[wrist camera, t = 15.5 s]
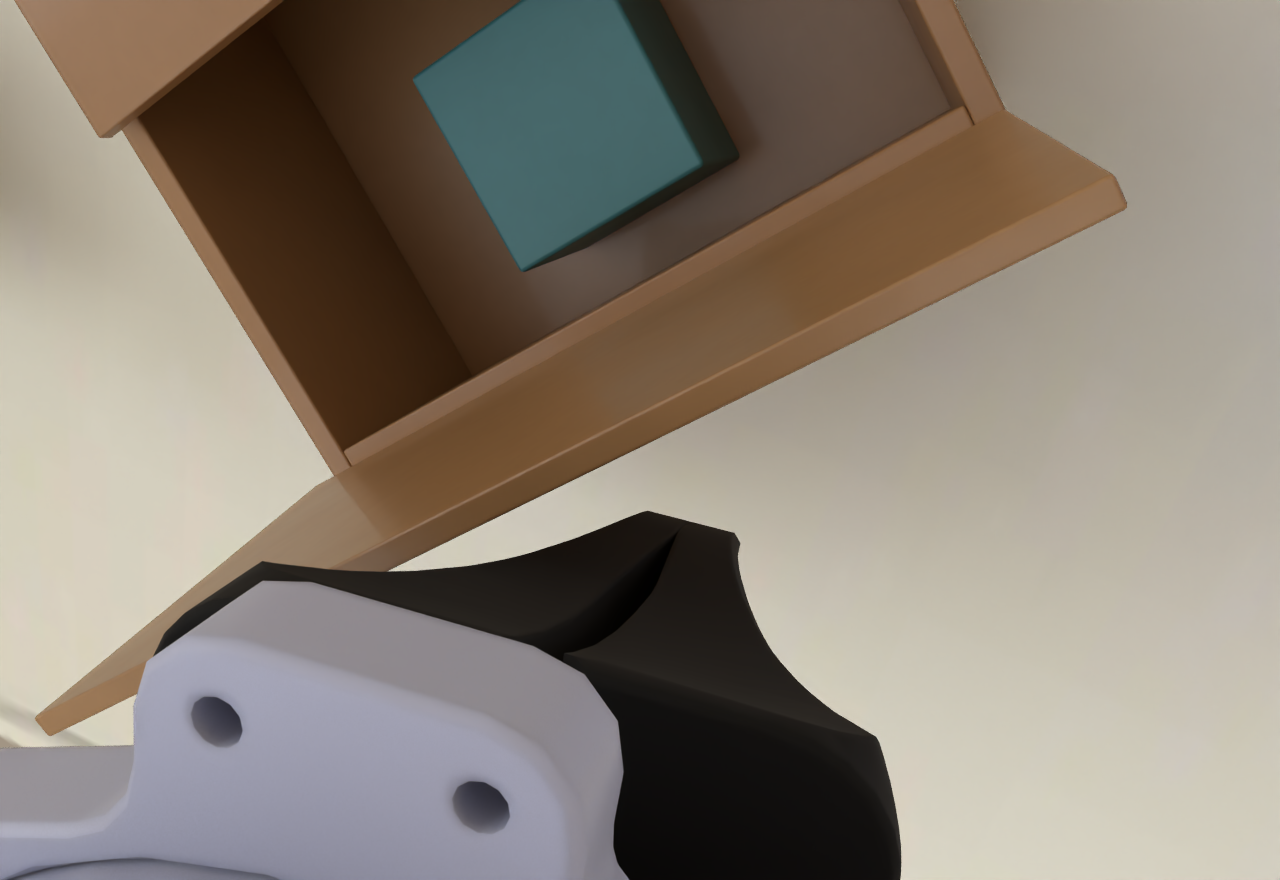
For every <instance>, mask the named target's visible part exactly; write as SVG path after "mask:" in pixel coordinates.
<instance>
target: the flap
mask: <svg viewBox="0 0 1280 880" xmlns="http://www.w3.org/2000/svg"><path fill="white" fill-rule="evenodd" d="M1126 208H1127V202H1126V200H1125V198H1124V195H1123V193H1122V191H1121V189H1120V187H1119V184H1118V182H1117V180H1116V178H1115V176H1114V175H1113V174H1111V173H1109V172H1108V171H1106V170H1104V169H1103V168H1101V167H1099V166H1098V165H1096V164H1094V163H1093V162H1091V161H1089V160H1088V159H1086V158H1084V157H1083V156H1081V155H1079V154H1078V153H1076V152H1074V151H1073V150H1071V149H1069V148H1068V147H1066V146H1064V145H1063V144H1061V143H1059V142H1058V141H1056V140H1055V139H1053V138H1051V137H1050V136H1048V135H1046V134H1045V133H1043V132H1041V131H1040V130H1038V129H1036V128H1035V127H1033V126H1031V125H1030V124H1028V123H1026V122H1025V121H1023V120H1021V119H1020V118H1018V117H1016V116H1015V115H1013V114H1011V113H1010V112H1008V111H1006V110H1001V111H1000V112H998V113H996V114H994V115H992V116H990V117H989V118H987V119H985V120H983V121H981V122H980V123H978V124H976V125H974V126H972V127H970V128H969V129H967V130H965V131H963V132H961V133H959V134H958V135H956V136H954V137H952V138H950V139H948V140H947V141H945V142H943V143H941V144H939V145H938V146H936V147H934V148H932V149H930V150H928V151H927V152H925V153H923V154H921V155H919V156H917V157H916V158H914V159H912V160H910V161H908V162H907V163H905V164H903V165H901V166H899V167H897V168H896V169H894V170H892V171H890V172H888V173H886V174H885V175H883V176H881V177H879V178H877V179H875V180H874V181H872V182H870V183H868V184H866V185H865V186H863V187H861V188H859V189H857V190H855V191H854V192H852V193H850V194H848V195H846V196H844V197H843V198H841V199H839V200H837V201H835V202H834V203H832V204H830V205H828V206H826V207H824V208H823V209H821V210H819V211H817V212H815V213H813V214H812V215H810V216H808V217H806V218H804V219H802V220H801V221H799V222H797V223H795V224H793V225H792V226H790V227H788V228H786V229H784V230H782V231H781V232H779V233H777V234H775V235H773V236H771V237H770V238H768V239H766V240H764V241H762V242H761V243H759V244H757V245H755V246H753V247H751V248H750V249H748V250H746V251H744V252H742V253H740V254H739V255H737V256H735V257H733V258H731V259H729V260H728V261H726V262H724V263H722V264H720V265H719V266H717V267H715V268H713V269H711V270H709V271H708V272H706V273H704V274H702V275H700V276H698V277H697V278H695V279H693V280H691V281H689V282H688V283H686V284H684V285H682V286H680V287H678V288H677V289H675V290H673V291H671V292H669V293H667V294H666V295H664V296H662V297H660V298H658V299H657V300H655V301H653V302H651V303H649V304H647V305H646V306H644V307H642V308H640V309H638V310H636V311H635V312H633V313H631V314H629V315H627V316H625V317H624V318H622V319H620V320H618V321H616V322H615V323H613V324H611V325H609V326H607V327H605V328H604V329H602V330H600V331H598V332H596V333H594V334H593V335H591V336H589V337H587V338H585V339H584V340H582V341H580V342H578V343H576V344H574V345H573V346H571V347H569V348H567V349H565V350H563V351H562V352H560V353H558V354H556V355H554V356H552V357H551V358H549V359H547V360H545V361H543V362H542V363H540V364H538V365H536V366H534V367H532V368H531V369H529V370H527V371H525V372H523V373H521V374H520V375H518V376H516V377H514V378H512V379H511V380H509V381H507V382H505V383H503V384H501V385H500V386H498V387H496V388H494V389H492V390H490V391H489V392H487V393H485V394H483V395H481V396H479V397H478V398H476V399H474V400H472V401H470V402H469V403H467V404H465V405H463V406H461V407H459V408H458V409H456V410H454V411H452V412H450V413H448V414H447V415H445V416H443V417H441V418H439V419H438V420H436V421H434V422H432V423H430V424H428V425H427V426H425V427H423V428H421V429H419V430H417V431H416V432H414V433H412V434H410V435H408V436H406V437H405V438H403V439H401V440H399V441H397V442H396V443H394V444H392V445H390V446H388V447H386V448H385V449H383V450H381V451H379V452H377V453H375V454H374V455H372V456H370V457H368V458H366V459H365V460H363V461H361V462H359V463H357V464H355V465H354V466H352V467H350V468H348V469H346V470H344V471H343V472H341V473H339V474H337V475H335V476H333V477H332V478H330V479H328V480H326V481H324V482H323V483H321V484H319V485H317V486H316V487H314V488H313V489H312V490H311V491H309V492H308V493H307V494H306V495H305V496H303V497H302V498H301V499H300V500H299V501H297V502H296V503H295V504H294V505H292V506H291V507H290V508H289V509H288V510H286V511H285V512H284V513H283V514H282V515H280V516H279V517H278V518H277V519H275V520H274V521H273V522H272V523H271V524H269V525H268V526H267V527H266V528H264V529H263V530H262V531H261V532H260V533H258V534H257V535H256V536H255V537H254V538H252V539H251V540H250V541H249V542H247V543H246V544H245V545H244V546H243V547H241V548H240V549H239V550H238V551H236V552H235V553H234V554H233V555H232V556H230V557H229V558H228V559H227V560H226V561H224V562H223V563H222V564H221V565H219V566H218V567H217V568H216V569H215V570H213V571H212V572H211V573H210V574H209V575H207V576H206V577H205V578H204V579H202V580H201V581H200V582H199V583H198V584H196V585H195V586H194V587H193V588H191V589H190V590H189V591H188V592H187V593H185V594H184V595H183V596H182V597H181V598H179V599H178V600H177V601H176V602H174V603H173V604H172V605H171V606H170V607H168V608H167V609H166V610H165V611H163V612H162V613H161V614H160V615H159V616H157V617H156V618H155V619H154V620H153V621H151V622H150V623H149V624H148V625H146V626H145V627H144V628H143V629H142V630H140V631H139V632H138V633H137V634H136V635H134V636H133V637H132V638H131V639H129V640H128V641H127V642H126V643H125V644H123V645H122V646H121V647H120V648H118V649H117V650H116V651H115V652H114V653H112V654H111V655H110V656H109V657H108V658H106V659H105V660H104V661H103V662H101V663H100V664H99V665H98V666H97V667H95V668H94V669H93V670H92V671H91V672H89V673H88V674H87V675H86V676H84V677H83V678H82V679H81V680H80V681H78V682H77V683H76V684H75V685H73V686H72V687H71V688H70V689H69V690H67V691H66V692H65V693H64V694H63V695H61V696H60V697H59V698H58V699H56V700H55V701H54V702H53V703H52V704H50V705H49V706H48V707H47V708H45V709H44V710H43V711H42V712H41V713H39V714H38V715H37V716H36V718H35V720H36V721H37V723H38V724H39V725H40V726H41V727H42V729H43V730H44V731H45V732H46V733H47V735H49V736H52V735H54V734H56V733H58V732H60V731H62V730H64V729H66V728H68V727H70V726H72V725H74V724H76V723H78V722H81V721H83V720H85V719H87V718H89V717H91V716H93V715H95V714H97V713H99V712H101V711H103V710H105V709H107V708H109V707H111V706H113V705H115V704H117V703H119V702H121V701H123V700H125V699H127V698H129V697H132V696H134V695H136V694H137V693H138V689H139V686H140V683H141V679H142V676H143V672H144V669H145V666H146V662H147V661H148V660H149V659H151V658H152V657H153V655H154V653H155V651H156V649H157V647H158V645H159V643H160V641H161V639H162V637H163V635H164V633H165V632H166V631H167V630H168V629H169V628H170V627H171V626H172V625H173V624H174V623H175V622H176V621H177V620H178V619H179V618H180V617H181V616H182V615H183V614H184V613H185V612H187V611H188V610H190V609H191V608H193V607H194V606H196V605H197V604H199V603H200V602H201V601H203V600H204V599H206V598H207V597H209V596H210V595H212V594H213V593H215V592H216V591H218V590H219V589H221V588H222V587H224V586H225V585H227V584H228V583H230V582H231V581H233V580H234V579H236V578H237V577H239V576H240V575H242V574H243V573H245V572H246V571H248V570H249V569H251V568H252V567H254V566H255V565H257V564H258V563H260V562H261V561H265V562H272V563H279V564H287V565H296V566H305V567H314V568H323V569H332V570H347V571H376V572H387V571H389V570H391V569H393V568H395V567H397V566H399V565H401V564H403V563H405V562H407V561H409V560H411V559H413V558H415V557H417V556H419V555H421V554H423V553H425V552H427V551H430V550H432V549H434V548H436V547H438V546H440V545H442V544H444V543H446V542H448V541H450V540H452V539H454V538H456V537H458V536H460V535H462V534H464V533H466V532H468V531H470V530H472V529H474V528H476V527H479V526H481V525H483V524H485V523H487V522H489V521H491V520H493V519H495V518H497V517H499V516H501V515H503V514H505V513H507V512H509V511H511V510H513V509H515V508H517V507H519V506H521V505H523V504H525V503H527V502H530V501H532V500H534V499H536V498H538V497H540V496H542V495H544V494H546V493H548V492H550V491H552V490H554V489H556V488H558V487H560V486H562V485H564V484H566V483H568V482H570V481H572V480H574V479H576V478H579V477H581V476H583V475H585V474H587V473H589V472H591V471H593V470H595V469H597V468H599V467H601V466H603V465H605V464H607V463H609V462H611V461H613V460H615V459H617V458H619V457H621V456H623V455H625V454H627V453H630V452H632V451H634V450H636V449H638V448H640V447H642V446H644V445H646V444H648V443H650V442H652V441H654V440H656V439H658V438H660V437H662V436H664V435H666V434H668V433H670V432H672V431H674V430H676V429H679V428H681V427H683V426H685V425H687V424H689V423H691V422H693V421H695V420H697V419H699V418H701V417H703V416H705V415H707V414H709V413H711V412H713V411H715V410H717V409H719V408H721V407H723V406H725V405H728V404H730V403H732V402H734V401H736V400H738V399H740V398H742V397H744V396H746V395H748V394H750V393H752V392H754V391H756V390H758V389H760V388H762V387H764V386H766V385H768V384H770V383H772V382H774V381H776V380H779V379H781V378H783V377H785V376H787V375H789V374H791V373H793V372H795V371H797V370H799V369H801V368H803V367H805V366H807V365H809V364H811V363H813V362H815V361H817V360H819V359H821V358H823V357H825V356H828V355H830V354H832V353H834V352H836V351H838V350H840V349H842V348H844V347H846V346H848V345H850V344H852V343H854V342H856V341H858V340H860V339H862V338H864V337H866V336H868V335H870V334H872V333H874V332H876V331H879V330H881V329H883V328H885V327H887V326H889V325H891V324H893V323H895V322H897V321H899V320H901V319H903V318H905V317H907V316H909V315H911V314H913V313H915V312H917V311H919V310H921V309H923V308H925V307H928V306H930V305H932V304H934V303H936V302H938V301H940V300H942V299H944V298H946V297H948V296H950V295H952V294H954V293H956V292H958V291H960V290H962V289H964V288H966V287H968V286H970V285H972V284H974V283H977V282H979V281H981V280H983V279H985V278H987V277H989V276H991V275H993V274H995V273H997V272H999V271H1001V270H1003V269H1005V268H1007V267H1009V266H1011V265H1013V264H1015V263H1017V262H1019V261H1021V260H1023V259H1025V258H1028V257H1030V256H1032V255H1034V254H1036V253H1038V252H1040V251H1042V250H1044V249H1046V248H1048V247H1050V246H1052V245H1054V244H1056V243H1058V242H1060V241H1062V240H1064V239H1066V238H1068V237H1070V236H1072V235H1074V234H1077V233H1079V232H1081V231H1083V230H1085V229H1087V228H1089V227H1091V226H1093V225H1095V224H1097V223H1099V222H1101V221H1103V220H1105V219H1107V218H1109V217H1111V216H1113V215H1115V214H1117V213H1119V212H1121V211H1123V210H1125V209H1126Z"/></svg>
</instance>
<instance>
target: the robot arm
mask: <svg viewBox="0 0 1280 880" xmlns="http://www.w3.org/2000/svg"><path fill="white" fill-rule="evenodd" d="M739 547H740V542H739V540H738V538H737V537H736V535H735V533H732V532H728V531H725V530H721V529H717V528H713V527H709V526H705V525H701V524H697V523H693V522H689V521H685V520H682V519H678V518H674V517H670V516H666V515H662V514H658V513H654V512H650V511H645V512H641V513H638V514H636V515H633V516H630V517H628V518H625V519H623V520H620V521H618V522H616V523H613V524H611V525H608V526H606V527H603V528H601V529H598V530H596V531H593V532H591V533H588V534H585V535H583V536H580V537H578V538H575V539H572V540H569V541H566V542H563V543H560V544H557V545H554V546H550V547H547V548H544V549H541V550H538V551H535V552H532V553H529V554H525V555H521V556H517V557H513V558H509V559H504V560H499V561H494V562H488V563H483V564H478V565H471V566H464V567H453V568H442V569H431V570H420V571H391V572H376V571H347V570H332V569H323V568H314V567H305V566H296V565H287V564H279V563H272V562H265V561H261V562H260V563H258V564H257V565H255V566H254V567H252V568H251V569H249V570H248V571H246V572H245V573H243V574H242V575H240V576H239V577H237V578H236V579H234V580H233V581H231V582H230V583H228V584H227V585H225V586H224V587H222V588H221V589H219V590H218V591H216V592H215V593H213V594H212V595H210V596H209V597H207V598H206V599H204V600H203V601H201V602H200V603H199V604H197V605H196V606H194V607H193V608H191V609H190V610H188V611H187V612H185V613H184V614H183V615H182V616H181V617H180V618H179V619H178V620H177V621H176V622H175V623H174V624H173V625H172V626H171V627H170V628H169V629H168V630H167V631H166V632H165V633H164V635H163V637H162V639H161V641H160V643H159V645H158V647H157V649H156V651H155V653H154V655H153V657H152V658H151V659H149V660H148V661H147V662H146V666H145V669H144V672H143V676H142V679H141V683H140V686H139V689H138V693H137V696H136V700H135V703H134V745H123V746H69V747H15V748H0V880H900V876H901V843H900V834H899V825H898V819H897V813H896V807H895V802H894V797H893V792H892V788H891V783H890V779H889V775H888V771H887V768H886V764H885V760H884V756H883V753H882V750H881V746H880V744H879V741H878V739H877V738H876V737H875V736H874V735H872V734H870V733H869V732H867V731H865V730H864V729H862V728H860V727H859V726H857V725H855V724H854V723H852V722H850V721H849V720H847V719H845V718H844V717H842V716H840V715H839V714H837V713H835V712H834V711H833V710H831V709H830V708H829V707H827V706H826V705H825V704H824V703H822V702H821V701H820V700H819V699H817V698H816V697H815V696H814V695H812V694H811V693H810V692H809V691H808V690H807V689H806V688H804V687H803V686H802V685H801V684H800V683H799V682H798V681H797V680H796V679H795V678H794V677H793V676H792V674H791V673H790V672H789V671H788V670H787V669H786V668H785V667H784V665H783V664H782V663H781V662H780V661H779V660H778V658H777V657H776V656H775V654H774V653H773V652H772V650H771V649H770V647H769V646H768V644H767V642H766V640H765V639H764V637H763V635H762V633H761V631H760V629H759V627H758V625H757V623H756V620H755V618H754V616H753V613H752V611H751V608H750V606H749V603H748V600H747V597H746V594H745V590H744V587H743V583H742V580H741V576H740V571H739V564H738V552H739Z"/></svg>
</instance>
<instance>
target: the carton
mask: <svg viewBox="0 0 1280 880" xmlns="http://www.w3.org/2000/svg"><path fill="white" fill-rule="evenodd" d="M14 1H15V2H16V4H17V5H18V7H19V9H20V10H21V12H22V14H23V15H24V17H25V18H26V20H27V22H28V23H29V25H30V26H31V28H32V30H33V31H34V33H35V35H36V36H37V38H38V39H39V41H40V43H41V44H42V46H43V48H44V49H45V51H46V52H47V54H48V56H49V57H50V59H51V60H52V62H53V64H54V65H55V67H56V69H57V70H58V72H59V73H60V75H61V77H62V78H63V80H64V82H65V83H66V85H67V86H68V88H69V90H70V91H71V93H72V95H73V96H74V98H75V99H76V101H77V103H78V104H79V106H80V107H81V109H82V111H83V112H84V114H85V116H86V117H87V119H88V120H89V122H90V124H91V125H92V127H93V129H94V130H95V132H96V133H97V135H98V137H100V138H112V137H113V136H114V135H115V134H117V133H118V132H119V131H120V130H122V131H123V133H124V134H125V136H126V137H127V139H128V141H129V142H130V144H131V146H132V147H133V149H134V151H135V152H136V154H137V155H138V157H139V159H140V160H141V162H142V164H143V165H144V167H145V168H146V170H147V172H148V173H149V175H150V177H151V178H152V180H153V181H154V183H155V185H156V186H157V188H158V190H159V191H160V193H161V195H162V196H163V198H164V199H165V201H166V203H167V204H168V206H169V208H170V209H171V211H172V212H173V214H174V216H175V217H176V219H177V221H178V222H179V224H180V226H181V227H182V229H183V230H184V232H185V234H186V235H187V237H188V239H189V240H190V242H191V243H192V245H193V247H194V248H195V250H196V252H197V253H198V255H199V257H200V258H201V260H202V261H203V263H204V265H205V266H206V268H207V270H208V271H209V273H210V274H211V276H212V278H213V279H214V281H215V283H216V284H217V286H218V287H219V289H220V291H221V292H222V294H223V296H224V297H225V299H226V301H227V302H228V304H229V305H230V307H231V309H232V310H233V312H234V314H235V315H236V317H237V318H238V320H239V322H240V323H241V325H242V327H243V328H244V330H245V332H246V333H247V335H248V336H249V338H250V340H251V341H252V343H253V345H254V346H255V348H256V349H257V351H258V353H259V354H260V356H261V358H262V359H263V361H264V362H265V364H266V366H267V367H268V369H269V371H270V372H271V374H272V376H273V377H274V379H275V380H276V382H277V384H278V385H279V387H280V389H281V390H282V392H283V393H284V395H285V397H286V398H287V400H288V402H289V403H290V405H291V407H292V408H293V410H294V411H295V413H296V415H297V416H298V418H299V420H300V421H301V423H302V424H303V426H304V428H305V429H306V431H307V433H308V434H309V436H310V437H311V439H312V441H313V442H314V444H315V446H316V447H317V449H318V451H319V452H320V454H321V455H322V457H323V459H324V460H325V462H326V464H327V465H328V467H329V468H330V470H331V472H332V473H333V475H334V476H335V475H337V474H339V473H341V472H343V471H344V470H346V469H348V468H350V467H352V466H354V465H355V464H357V463H359V462H361V461H363V460H365V459H366V458H368V457H370V456H372V455H374V454H375V453H377V452H379V451H381V450H383V449H385V448H386V447H388V446H390V445H392V444H394V443H396V442H397V441H399V440H401V439H403V438H405V437H406V436H408V435H410V434H412V433H414V432H416V431H417V430H419V429H421V428H423V427H425V426H427V425H428V424H430V423H432V422H434V421H436V420H438V419H439V418H441V417H443V416H445V415H447V414H448V413H450V412H452V411H454V410H456V409H458V408H459V407H461V406H463V405H465V404H467V403H469V402H470V401H472V400H474V399H476V398H478V397H479V396H481V395H483V394H485V393H487V392H489V391H490V390H492V389H494V388H496V387H498V386H500V385H501V384H503V383H505V382H507V381H509V380H511V379H512V378H514V377H516V376H518V375H520V374H521V373H523V372H525V371H527V370H529V369H531V368H532V367H534V366H536V365H538V364H540V363H542V362H543V361H545V360H547V359H549V358H551V357H552V356H554V355H556V354H558V353H560V352H562V351H563V350H565V349H567V348H569V347H571V346H573V345H574V344H576V343H578V342H580V341H582V340H584V339H585V338H587V337H589V336H591V335H593V334H594V333H596V332H598V331H600V330H602V329H604V328H605V327H607V326H609V325H611V324H613V323H615V322H616V321H618V320H620V319H622V318H624V317H625V316H627V315H629V314H631V313H633V312H635V311H636V310H638V309H640V308H642V307H644V306H646V305H647V304H649V303H651V302H653V301H655V300H657V299H658V298H660V297H662V296H664V295H666V294H667V293H669V292H671V291H673V290H675V289H677V288H678V287H680V286H682V285H684V284H686V283H688V282H689V281H691V280H693V279H695V278H697V277H698V276H700V275H702V274H704V273H706V272H708V271H709V270H711V269H713V268H715V267H717V266H719V265H720V264H722V263H724V262H726V261H728V260H729V259H731V258H733V257H735V256H737V255H739V254H740V253H742V252H744V251H746V250H748V249H750V248H751V247H753V246H755V245H757V244H759V243H761V242H762V241H764V240H766V239H768V238H770V237H771V236H773V235H775V234H777V233H779V232H781V231H782V230H784V229H786V228H788V227H790V226H792V225H793V224H795V223H797V222H799V221H801V220H802V219H804V218H806V217H808V216H810V215H812V214H813V213H815V212H817V211H819V210H821V209H823V208H824V207H826V206H828V205H830V204H832V203H834V202H835V201H837V200H839V199H841V198H843V197H844V196H846V195H848V194H850V193H852V192H854V191H855V190H857V189H859V188H861V187H863V186H865V185H866V184H868V183H870V182H872V181H874V180H875V179H877V178H879V177H881V176H883V175H885V174H886V173H888V172H890V171H892V170H894V169H896V168H897V167H899V166H901V165H903V164H905V163H907V162H908V161H910V160H912V159H914V158H916V157H917V156H919V155H921V154H923V153H925V152H927V151H928V150H930V149H932V148H934V147H936V146H938V145H939V144H941V143H943V142H945V141H947V140H948V139H950V138H952V137H954V136H956V135H958V134H959V133H961V132H963V131H965V130H967V129H969V128H970V127H972V126H974V125H976V124H978V123H980V122H981V121H983V120H985V119H987V118H989V117H990V116H992V115H994V114H996V113H998V112H1000V111H1001V110H1006V109H1005V107H1004V105H1003V103H1002V101H1001V99H1000V97H999V95H998V93H997V90H996V88H995V86H994V84H993V82H992V80H991V78H990V76H989V74H988V72H987V70H986V67H985V65H984V63H983V61H982V59H981V57H980V55H979V53H978V51H977V49H976V47H975V45H974V42H973V40H972V38H971V36H970V34H969V32H968V30H967V28H966V26H965V24H964V22H963V19H962V17H961V15H960V13H959V11H958V9H957V7H956V5H955V3H954V1H953V0H659V1H660V3H661V4H662V6H663V8H664V10H665V12H666V14H667V16H668V18H669V20H670V22H671V24H672V26H673V27H674V29H675V31H676V33H677V35H678V37H679V39H680V41H681V43H682V45H683V47H684V49H685V51H686V52H687V54H688V56H689V58H690V60H691V62H692V64H693V66H694V68H695V70H696V72H697V74H698V75H699V77H700V79H701V81H702V83H703V85H704V87H705V89H706V91H707V93H708V95H709V97H710V98H711V100H712V102H713V104H714V106H715V108H716V110H717V112H718V114H719V116H720V118H721V120H722V121H723V123H724V125H725V127H726V129H727V131H728V133H729V135H730V137H731V139H732V141H733V143H734V144H735V146H736V148H737V150H738V152H739V156H740V157H739V158H738V160H736V161H735V162H733V163H731V164H729V165H728V166H726V167H724V168H723V169H721V170H719V171H717V172H716V173H714V174H712V175H711V176H709V177H707V178H706V179H704V180H702V181H700V182H699V183H697V184H695V185H694V186H692V187H690V188H688V189H687V190H685V191H683V192H682V193H680V194H678V195H677V196H675V197H673V198H671V199H670V200H668V201H666V202H665V203H663V204H661V205H659V206H658V207H656V208H654V209H653V210H651V211H649V212H647V213H646V214H644V215H642V216H641V217H639V218H637V219H636V220H634V221H632V222H630V223H629V224H627V225H625V226H624V227H622V228H620V229H618V230H617V231H615V232H613V233H612V234H610V235H608V236H606V237H605V238H603V239H601V240H600V241H598V242H596V243H595V244H593V245H591V246H589V247H588V248H586V249H583V250H580V251H578V252H575V253H573V254H570V255H567V256H565V257H562V258H560V259H557V260H554V261H552V262H549V263H547V264H544V265H541V266H539V267H536V268H534V269H531V270H529V271H526V272H521V271H520V270H519V268H518V267H517V265H516V263H515V261H514V259H513V258H512V256H511V254H510V252H509V251H508V249H507V247H506V245H505V243H504V242H503V240H502V238H501V236H500V235H499V233H498V231H497V229H496V228H495V226H494V224H493V222H492V220H491V219H490V217H489V215H488V213H487V212H486V210H485V208H484V206H483V205H482V203H481V201H480V199H479V197H478V196H477V194H476V192H475V190H474V189H473V187H472V185H471V183H470V182H469V180H468V178H467V176H466V174H465V173H464V171H463V169H462V167H461V166H460V164H459V162H458V160H457V158H456V157H455V155H454V153H453V151H452V150H451V148H450V146H449V144H448V143H447V141H446V139H445V137H444V135H443V134H442V132H441V130H440V128H439V127H438V125H437V123H436V121H435V120H434V118H433V116H432V114H431V112H430V111H429V109H428V107H427V105H426V104H425V102H424V100H423V98H422V96H421V95H420V93H419V91H418V89H417V88H416V86H415V84H414V82H413V78H414V76H415V75H417V74H418V73H419V72H421V71H422V70H424V69H425V68H426V67H428V66H429V65H431V64H432V63H433V62H435V61H436V60H438V59H439V58H440V57H442V56H443V55H445V54H446V53H448V52H449V51H450V50H452V49H453V48H455V47H456V46H457V45H459V44H460V43H462V42H463V41H464V40H466V39H467V38H469V37H470V36H471V35H473V34H474V33H476V32H477V31H478V30H480V29H481V28H483V27H484V26H485V25H487V24H488V23H490V22H491V21H493V20H494V19H495V18H497V17H498V16H500V15H501V14H502V13H504V12H505V11H507V10H508V9H509V8H511V7H512V6H514V5H515V4H516V3H518V2H519V1H521V0H14Z"/></svg>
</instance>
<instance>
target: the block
mask: <svg viewBox="0 0 1280 880" xmlns="http://www.w3.org/2000/svg"><path fill="white" fill-rule="evenodd" d="M413 82H414V84H415V86H416V88H417V89H418V91H419V93H420V95H421V96H422V98H423V100H424V102H425V104H426V105H427V107H428V109H429V111H430V112H431V114H432V116H433V118H434V120H435V121H436V123H437V125H438V127H439V128H440V130H441V132H442V134H443V135H444V137H445V139H446V141H447V143H448V144H449V146H450V148H451V150H452V151H453V153H454V155H455V157H456V158H457V160H458V162H459V164H460V166H461V167H462V169H463V171H464V173H465V174H466V176H467V178H468V180H469V182H470V183H471V185H472V187H473V189H474V190H475V192H476V194H477V196H478V197H479V199H480V201H481V203H482V205H483V206H484V208H485V210H486V212H487V213H488V215H489V217H490V219H491V220H492V222H493V224H494V226H495V228H496V229H497V231H498V233H499V235H500V236H501V238H502V240H503V242H504V243H505V245H506V247H507V249H508V251H509V252H510V254H511V256H512V258H513V259H514V261H515V263H516V265H517V267H518V268H519V270H520V271H521V272H526V271H529V270H531V269H534V268H536V267H539V266H541V265H544V264H547V263H549V262H552V261H554V260H557V259H560V258H562V257H565V256H567V255H570V254H573V253H575V252H578V251H580V250H583V249H586V248H588V247H589V246H591V245H593V244H595V243H596V242H598V241H600V240H601V239H603V238H605V237H606V236H608V235H610V234H612V233H613V232H615V231H617V230H618V229H620V228H622V227H624V226H625V225H627V224H629V223H630V222H632V221H634V220H636V219H637V218H639V217H641V216H642V215H644V214H646V213H647V212H649V211H651V210H653V209H654V208H656V207H658V206H659V205H661V204H663V203H665V202H666V201H668V200H670V199H671V198H673V197H675V196H677V195H678V194H680V193H682V192H683V191H685V190H687V189H688V188H690V187H692V186H694V185H695V184H697V183H699V182H700V181H702V180H704V179H706V178H707V177H709V176H711V175H712V174H714V173H716V172H717V171H719V170H721V169H723V168H724V167H726V166H728V165H729V164H731V163H733V162H735V161H736V160H738V158H739V157H740V156H739V152H738V150H737V148H736V146H735V144H734V143H733V141H732V139H731V137H730V135H729V133H728V131H727V129H726V127H725V125H724V123H723V121H722V120H721V118H720V116H719V114H718V112H717V110H716V108H715V106H714V104H713V102H712V100H711V98H710V97H709V95H708V93H707V91H706V89H705V87H704V85H703V83H702V81H701V79H700V77H699V75H698V74H697V72H696V70H695V68H694V66H693V64H692V62H691V60H690V58H689V56H688V54H687V52H686V51H685V49H684V47H683V45H682V43H681V41H680V39H679V37H678V35H677V33H676V31H675V29H674V27H673V26H672V24H671V22H670V20H669V18H668V16H667V14H666V12H665V10H664V8H663V6H662V4H661V3H660V1H659V0H521V1H519V2H518V3H516V4H515V5H514V6H512V7H511V8H509V9H508V10H507V11H505V12H504V13H502V14H501V15H500V16H498V17H497V18H495V19H494V20H493V21H491V22H490V23H488V24H487V25H485V26H484V27H483V28H481V29H480V30H478V31H477V32H476V33H474V34H473V35H471V36H470V37H469V38H467V39H466V40H464V41H463V42H462V43H460V44H459V45H457V46H456V47H455V48H453V49H452V50H450V51H449V52H448V53H446V54H445V55H443V56H442V57H440V58H439V59H438V60H436V61H435V62H433V63H432V64H431V65H429V66H428V67H426V68H425V69H424V70H422V71H421V72H419V73H418V74H417V75H415V76H414V78H413Z"/></svg>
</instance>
